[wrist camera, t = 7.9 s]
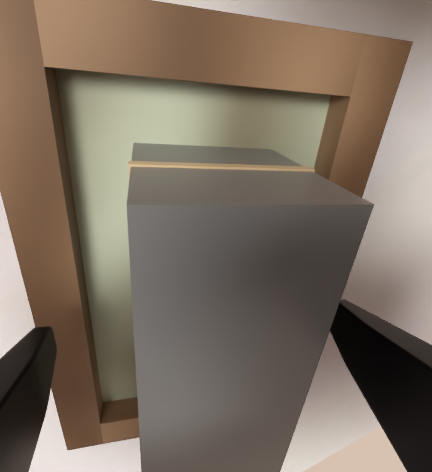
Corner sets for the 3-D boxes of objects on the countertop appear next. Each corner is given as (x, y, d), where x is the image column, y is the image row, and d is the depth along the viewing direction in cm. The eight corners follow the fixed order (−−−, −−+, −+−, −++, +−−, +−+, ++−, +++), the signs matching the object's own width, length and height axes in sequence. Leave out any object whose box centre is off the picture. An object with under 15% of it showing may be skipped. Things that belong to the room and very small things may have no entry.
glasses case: (272, 147, 10) (376, 202, 5) (236, 359, 14) (278, 480, 10) (131, 140, 9) (122, 202, 4) (141, 372, 13) (142, 513, 9)
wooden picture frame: (355, 52, 11) (427, 44, 8) (277, 358, 19) (301, 407, 16) (-13, 1, 8) (-90, -39, 5) (70, 386, 16) (55, 452, 13)
